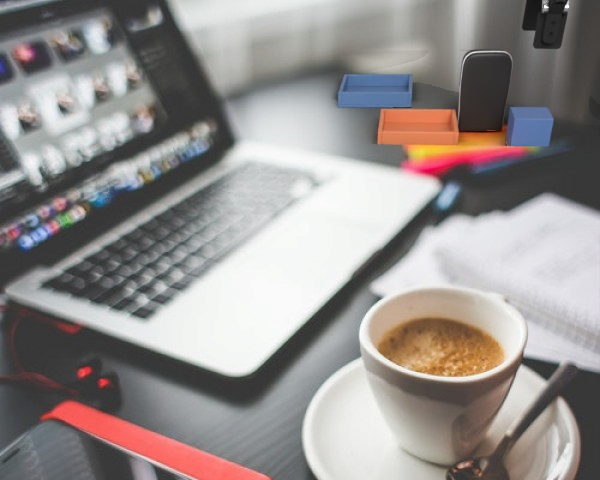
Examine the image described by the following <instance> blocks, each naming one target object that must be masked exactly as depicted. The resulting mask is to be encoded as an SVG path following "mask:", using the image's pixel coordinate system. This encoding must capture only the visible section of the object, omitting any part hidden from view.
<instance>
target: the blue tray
mask: <svg viewBox="0 0 600 480" xmlns="http://www.w3.org/2000/svg"><path fill="white" fill-rule="evenodd" d="M337 96H338V97H337V102H338V103H337V104H338V105H337V106H338V108H364V109H365V108H366V109H367V108H369V109H371V108H377V109H378V108H381V109H394V108H393V107H411V108H412V104H413V103H412V102H413V73H348V74H347V73H344V75H343V78H342V80H341V83H340V87H339V89H338V92H337Z"/></svg>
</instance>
